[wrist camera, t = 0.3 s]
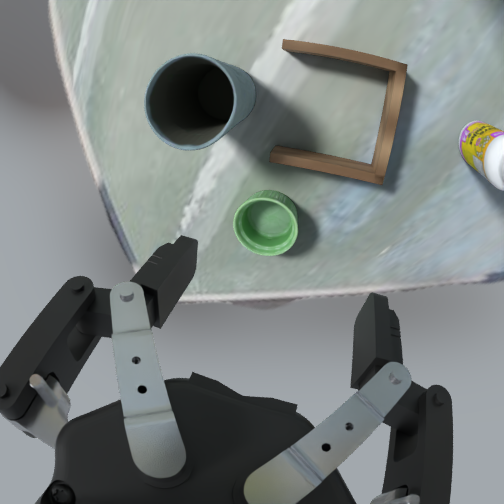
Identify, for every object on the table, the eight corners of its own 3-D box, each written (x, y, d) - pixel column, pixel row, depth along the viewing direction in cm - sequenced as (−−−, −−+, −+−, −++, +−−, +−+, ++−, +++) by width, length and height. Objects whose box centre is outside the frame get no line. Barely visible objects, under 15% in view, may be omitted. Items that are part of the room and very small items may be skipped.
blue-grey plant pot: (198, 134, 40) (156, 158, 31) (183, 67, 35) (134, 70, 25) (268, 122, 37) (245, 142, 28) (255, 50, 32) (225, 42, 23)
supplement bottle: (483, 112, 28) (535, 133, 18) (500, 153, 30) (548, 188, 20) (449, 132, 31) (492, 159, 21) (467, 173, 33) (509, 214, 23)
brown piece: (287, 42, 31) (283, 39, 28) (399, 65, 29) (407, 64, 26) (274, 153, 40) (269, 161, 36) (377, 174, 38) (382, 185, 34)
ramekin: (282, 175, 41) (277, 186, 38) (311, 228, 45) (309, 243, 41) (230, 201, 45) (220, 214, 42) (260, 248, 49) (254, 264, 45)
